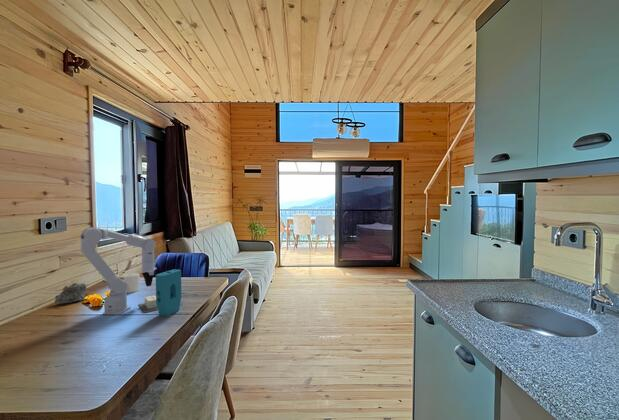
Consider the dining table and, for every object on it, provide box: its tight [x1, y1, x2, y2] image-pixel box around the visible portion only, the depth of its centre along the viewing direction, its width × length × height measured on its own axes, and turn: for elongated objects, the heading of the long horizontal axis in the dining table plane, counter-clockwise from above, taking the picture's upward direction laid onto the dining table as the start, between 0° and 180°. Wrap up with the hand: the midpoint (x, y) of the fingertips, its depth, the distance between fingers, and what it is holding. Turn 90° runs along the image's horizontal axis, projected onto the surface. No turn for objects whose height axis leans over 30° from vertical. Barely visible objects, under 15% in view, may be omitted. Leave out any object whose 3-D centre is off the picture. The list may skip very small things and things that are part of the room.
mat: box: [138, 302, 158, 314], centre depth 152 cm, size 14×10×1 cm
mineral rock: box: [54, 282, 88, 305], centre depth 160 cm, size 13×11×10 cm
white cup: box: [124, 272, 140, 294], centre depth 178 cm, size 8×8×10 cm
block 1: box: [144, 294, 157, 309], centre depth 152 cm, size 4×5×8 cm
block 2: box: [155, 268, 182, 317], centre depth 144 cm, size 12×5×20 cm, turn 160°
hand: (148, 285), depth 157 cm, fingers closed
